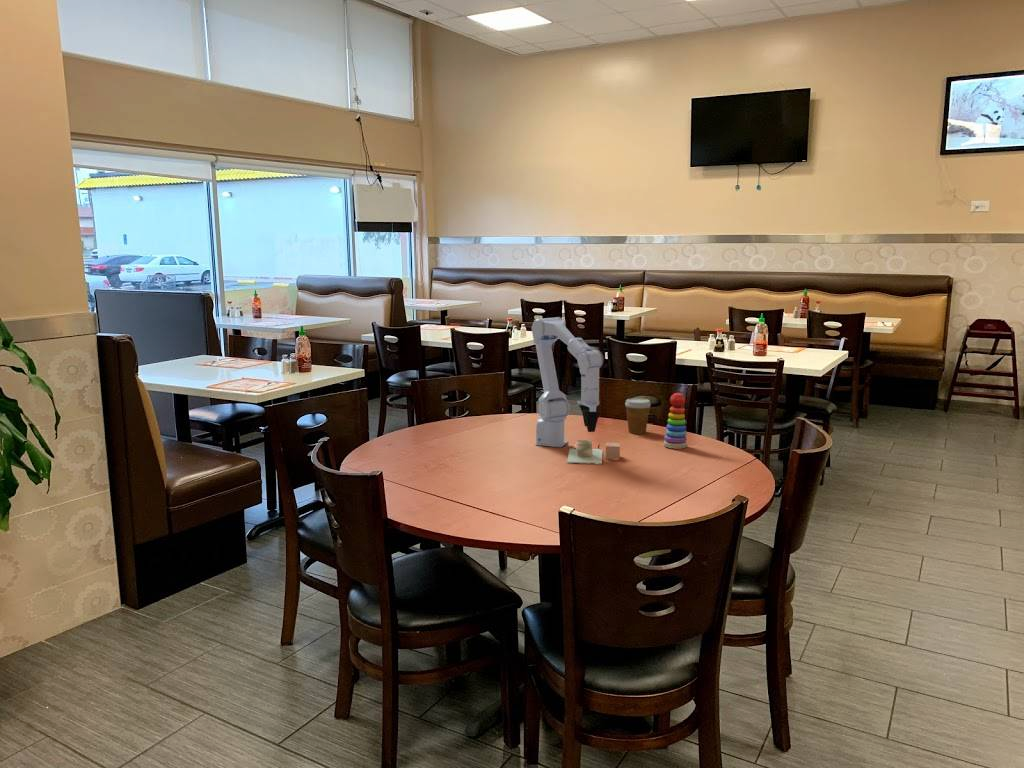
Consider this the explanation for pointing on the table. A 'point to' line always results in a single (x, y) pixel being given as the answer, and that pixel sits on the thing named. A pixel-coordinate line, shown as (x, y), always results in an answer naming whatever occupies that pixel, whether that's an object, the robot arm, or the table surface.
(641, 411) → the disposable coffee cup
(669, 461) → the table surface
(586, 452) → the beech block
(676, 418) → the stacking toy
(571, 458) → the plate
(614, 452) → the pinkish tan cube
